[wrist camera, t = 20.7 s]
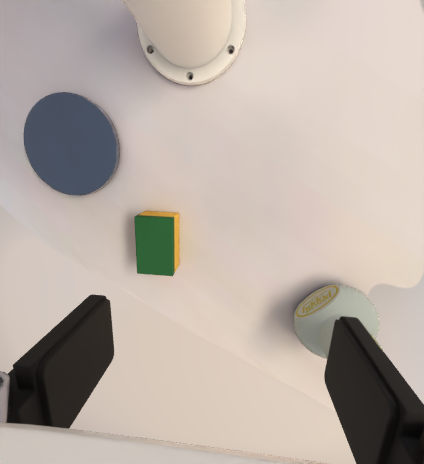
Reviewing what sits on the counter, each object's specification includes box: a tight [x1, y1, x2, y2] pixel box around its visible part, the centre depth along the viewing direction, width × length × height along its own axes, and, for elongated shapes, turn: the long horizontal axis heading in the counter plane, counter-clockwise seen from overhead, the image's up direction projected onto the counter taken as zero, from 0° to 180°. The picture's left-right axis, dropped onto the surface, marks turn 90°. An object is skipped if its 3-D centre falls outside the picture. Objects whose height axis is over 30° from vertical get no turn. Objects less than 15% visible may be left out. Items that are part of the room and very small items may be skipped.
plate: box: [24, 92, 120, 195], centre depth 35 cm, size 13×13×2 cm
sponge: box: [135, 211, 179, 276], centre depth 36 cm, size 8×5×4 cm, turn 178°
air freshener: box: [294, 284, 382, 359], centre depth 33 cm, size 11×8×10 cm
